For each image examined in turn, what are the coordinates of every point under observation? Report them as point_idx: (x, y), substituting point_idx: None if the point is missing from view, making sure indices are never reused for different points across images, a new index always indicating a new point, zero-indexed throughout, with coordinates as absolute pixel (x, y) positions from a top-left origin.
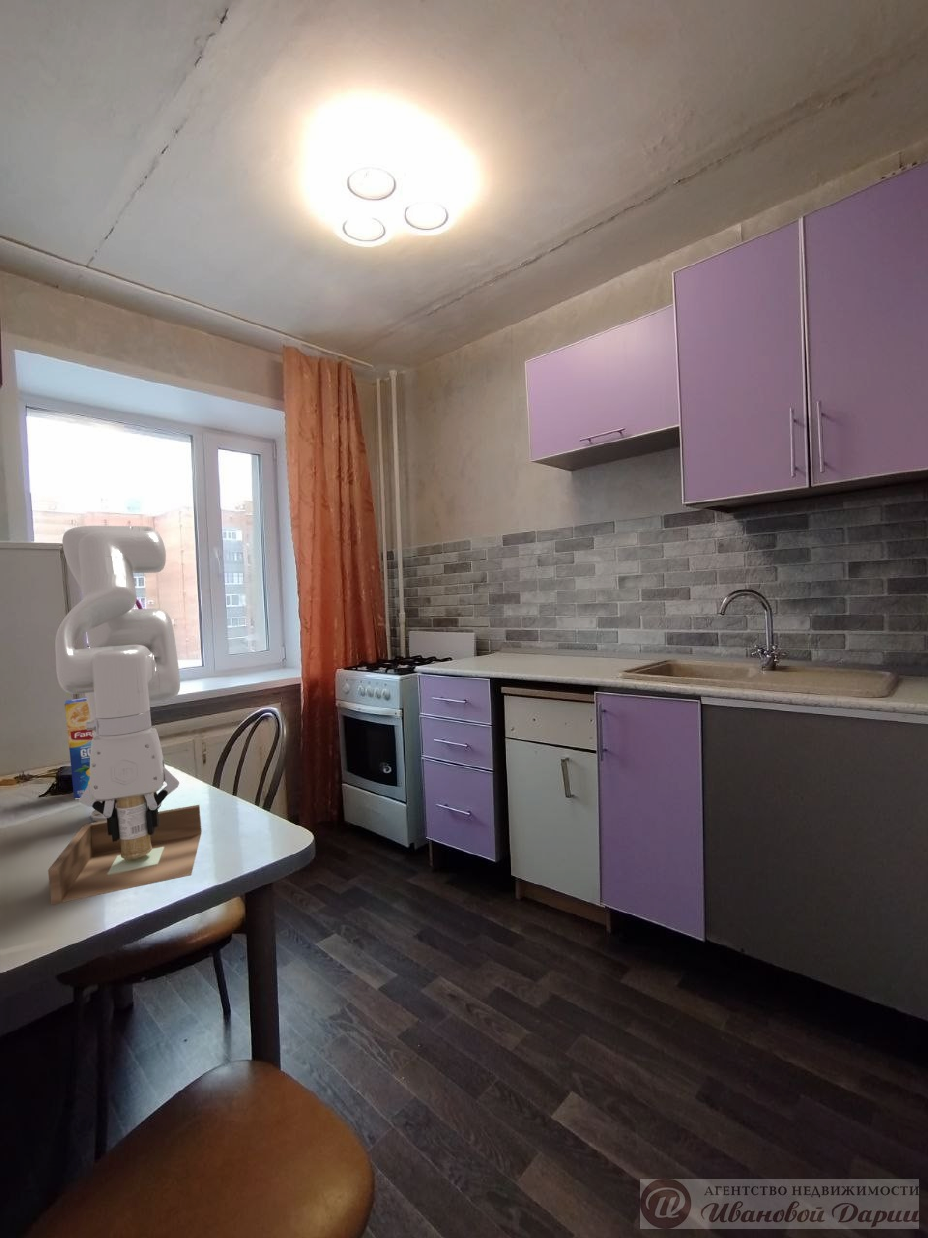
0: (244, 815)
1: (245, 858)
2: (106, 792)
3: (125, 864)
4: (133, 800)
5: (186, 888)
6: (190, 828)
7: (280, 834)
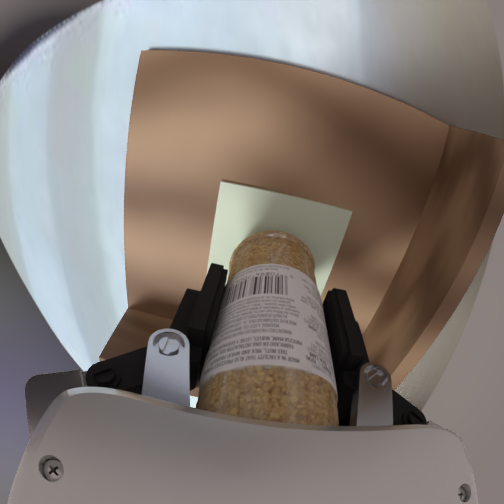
0: (75, 340)
1: (42, 112)
2: (420, 467)
3: (303, 242)
4: (257, 400)
5: (164, 7)
6: (141, 325)
7: (2, 202)
